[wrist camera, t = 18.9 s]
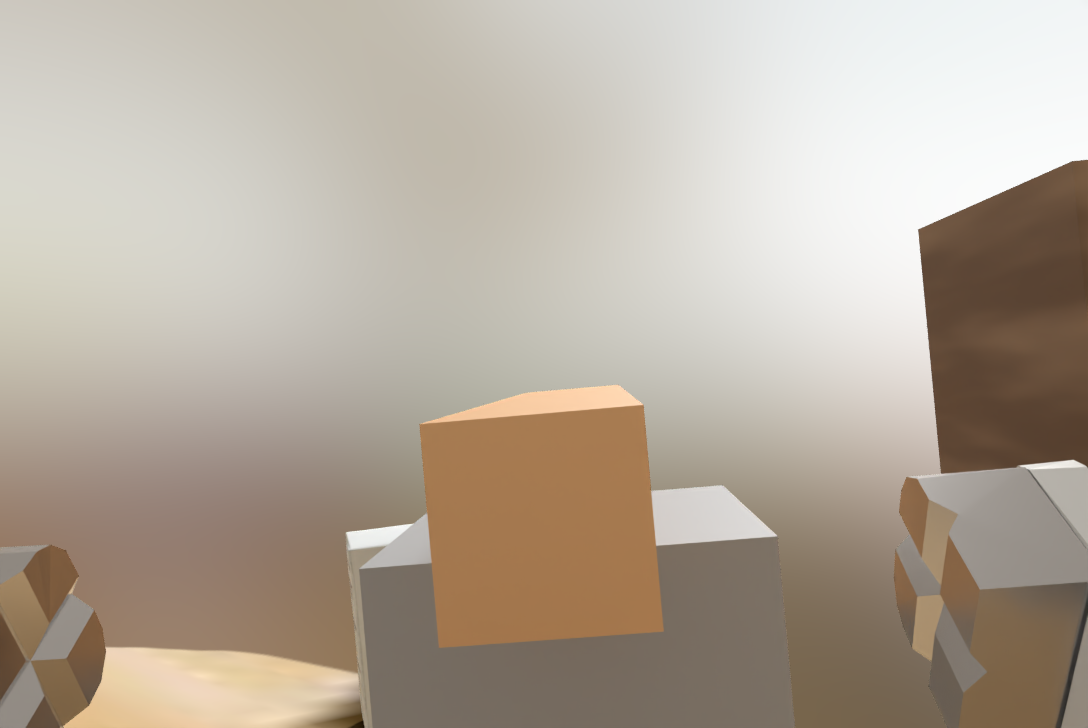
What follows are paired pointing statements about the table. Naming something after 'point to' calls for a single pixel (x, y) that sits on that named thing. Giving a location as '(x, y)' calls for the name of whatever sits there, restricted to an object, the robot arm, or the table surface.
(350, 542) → the supplement box
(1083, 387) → the walnut post
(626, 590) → the orange bar
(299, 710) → the table surface
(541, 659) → the slate pedestal
